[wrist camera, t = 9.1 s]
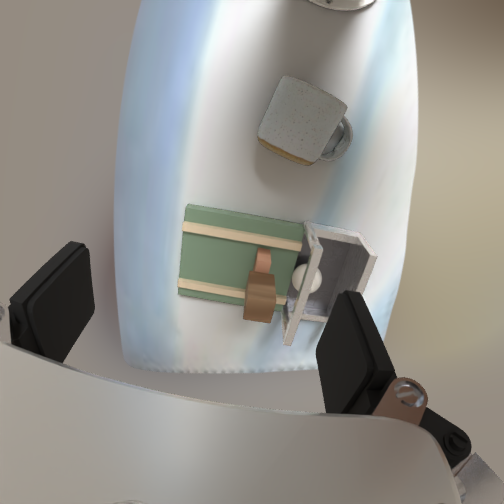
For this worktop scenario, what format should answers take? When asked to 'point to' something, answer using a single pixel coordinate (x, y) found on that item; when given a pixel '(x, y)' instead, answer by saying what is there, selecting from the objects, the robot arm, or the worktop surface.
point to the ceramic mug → (303, 122)
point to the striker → (260, 289)
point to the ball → (298, 278)
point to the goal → (326, 274)
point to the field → (234, 253)
